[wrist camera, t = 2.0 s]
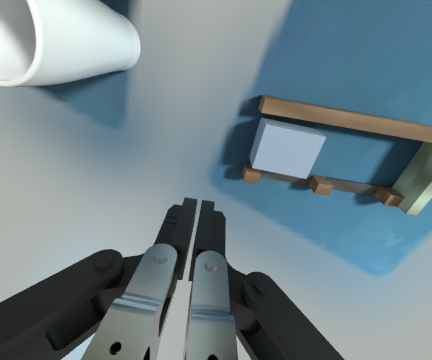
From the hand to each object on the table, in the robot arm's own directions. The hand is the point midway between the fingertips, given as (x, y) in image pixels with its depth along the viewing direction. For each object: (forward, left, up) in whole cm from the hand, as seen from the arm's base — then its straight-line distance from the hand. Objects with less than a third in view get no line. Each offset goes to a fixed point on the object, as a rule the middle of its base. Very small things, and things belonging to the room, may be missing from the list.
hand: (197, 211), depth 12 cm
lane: (0, +16, -17) cm, 23 cm away
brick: (0, +9, -17) cm, 19 cm away
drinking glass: (-8, -12, -17) cm, 22 cm away
